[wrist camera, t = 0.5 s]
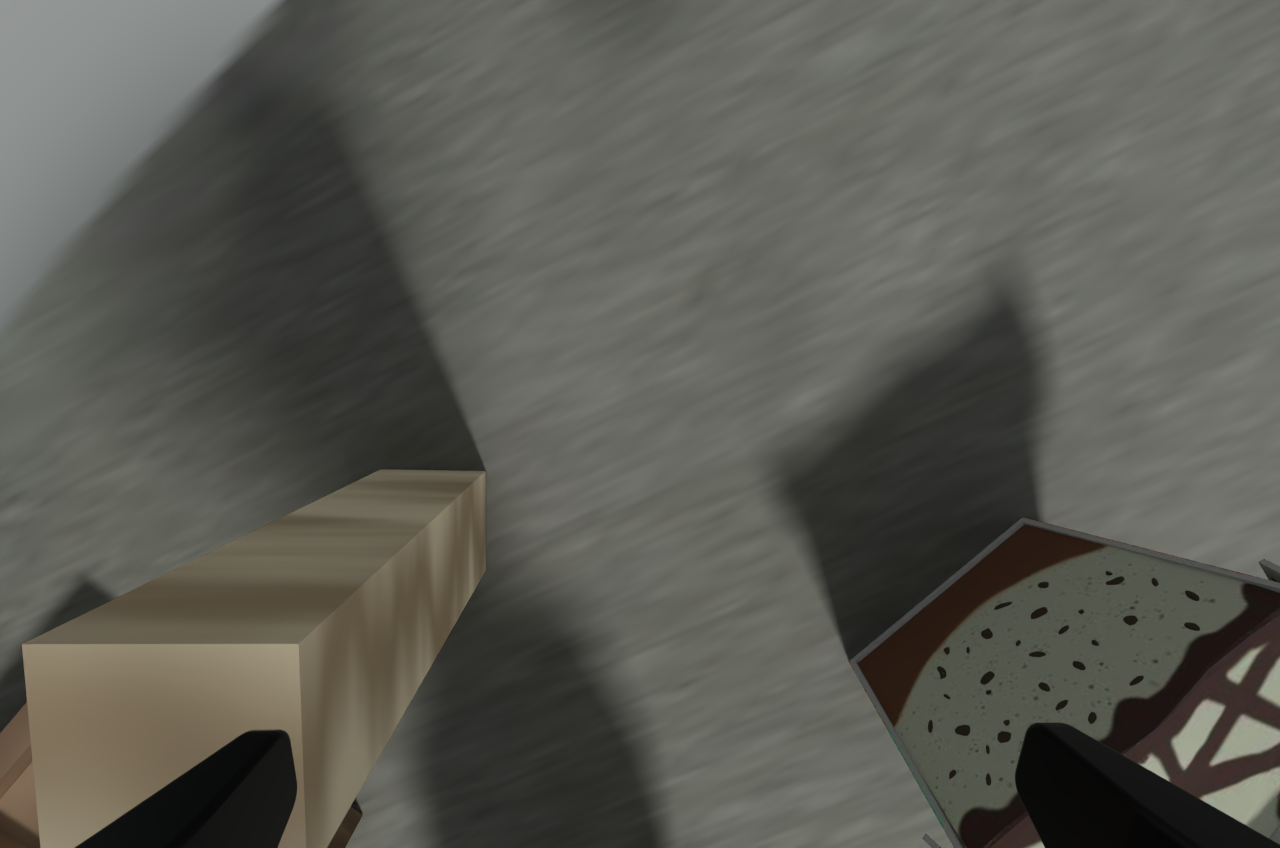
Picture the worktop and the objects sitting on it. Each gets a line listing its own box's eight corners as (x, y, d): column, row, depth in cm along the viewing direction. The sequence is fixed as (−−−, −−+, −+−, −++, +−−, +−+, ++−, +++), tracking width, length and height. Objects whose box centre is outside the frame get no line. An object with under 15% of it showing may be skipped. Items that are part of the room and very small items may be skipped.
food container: (908, 783, 25) (1102, 1056, 15) (821, 684, 25) (965, 903, 15) (1132, 600, 25) (1477, 758, 15) (1050, 493, 24) (1356, 587, 14)
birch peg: (485, 570, 23) (307, 881, 9) (382, 569, 23) (44, 887, 9) (485, 470, 23) (298, 644, 9) (380, 469, 23) (21, 644, 9)
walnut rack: (362, 814, 24) (334, 867, 22) (224, 969, 25) (181, 1038, 22) (114, 635, 23) (54, 669, 20) (-28, 802, 23) (-104, 855, 21)
